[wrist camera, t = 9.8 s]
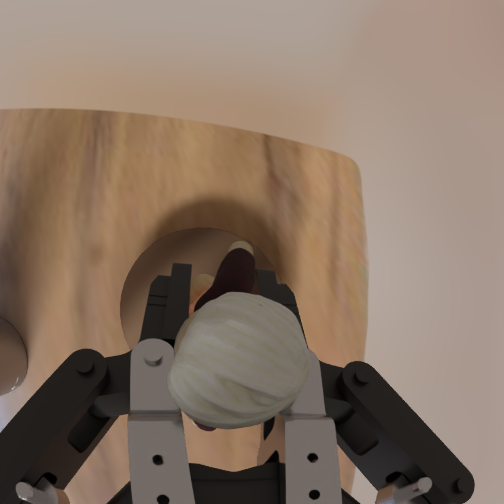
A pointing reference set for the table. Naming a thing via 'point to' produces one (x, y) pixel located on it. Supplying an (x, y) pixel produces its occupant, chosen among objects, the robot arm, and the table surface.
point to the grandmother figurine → (236, 350)
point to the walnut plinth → (160, 263)
